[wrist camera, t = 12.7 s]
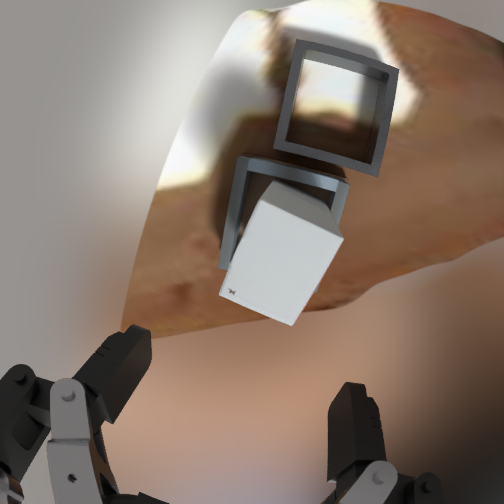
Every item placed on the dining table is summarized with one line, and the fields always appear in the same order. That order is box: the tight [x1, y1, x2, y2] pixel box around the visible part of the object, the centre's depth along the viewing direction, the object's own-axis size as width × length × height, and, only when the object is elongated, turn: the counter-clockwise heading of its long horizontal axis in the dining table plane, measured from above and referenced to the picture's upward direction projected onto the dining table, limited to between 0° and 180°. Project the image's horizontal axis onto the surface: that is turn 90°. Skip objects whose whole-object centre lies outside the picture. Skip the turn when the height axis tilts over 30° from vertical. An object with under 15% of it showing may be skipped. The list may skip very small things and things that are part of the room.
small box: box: [219, 179, 344, 326], centre depth 25 cm, size 8×6×13 cm
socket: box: [273, 39, 399, 177], centre depth 24 cm, size 11×12×4 cm
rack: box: [218, 153, 350, 293], centre depth 30 cm, size 12×13×4 cm
